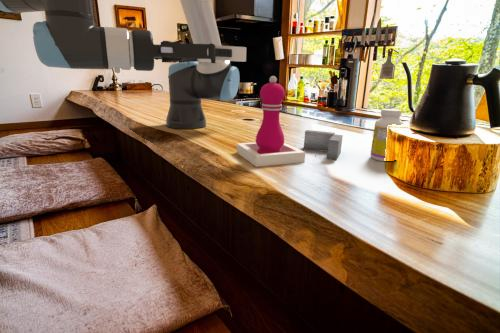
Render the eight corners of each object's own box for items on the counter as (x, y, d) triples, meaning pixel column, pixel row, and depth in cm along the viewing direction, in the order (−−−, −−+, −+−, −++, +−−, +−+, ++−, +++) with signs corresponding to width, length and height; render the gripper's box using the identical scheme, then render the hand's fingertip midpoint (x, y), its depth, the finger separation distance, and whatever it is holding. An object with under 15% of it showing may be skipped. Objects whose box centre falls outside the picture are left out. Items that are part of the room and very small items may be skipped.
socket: (236, 152, 81) (236, 143, 80) (279, 149, 86) (280, 140, 85) (255, 166, 70) (256, 156, 69) (304, 161, 74) (305, 152, 74)
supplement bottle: (376, 154, 84) (383, 107, 80) (401, 159, 80) (410, 110, 76) (365, 158, 79) (372, 109, 76) (391, 164, 75) (400, 111, 71)
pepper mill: (281, 162, 74) (287, 76, 68) (252, 159, 75) (255, 75, 69) (284, 154, 80) (289, 76, 74) (257, 152, 82) (260, 75, 76)
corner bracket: (300, 147, 89) (301, 130, 88) (321, 145, 92) (323, 129, 91) (331, 160, 76) (333, 141, 75) (354, 158, 79) (356, 139, 78)
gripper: (130, 70, 71) (217, 72, 79) (136, 70, 49) (256, 74, 57) (127, 35, 69) (217, 41, 77) (132, 19, 47) (257, 31, 55)
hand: (234, 55), depth 67 cm, fingers open, 13 cm apart
